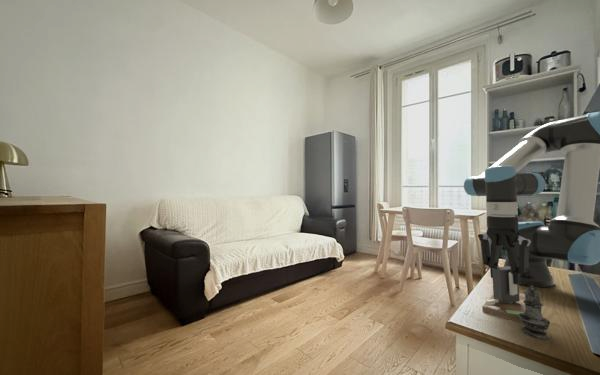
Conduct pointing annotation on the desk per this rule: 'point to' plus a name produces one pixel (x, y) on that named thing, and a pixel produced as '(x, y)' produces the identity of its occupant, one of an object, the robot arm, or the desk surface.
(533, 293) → the dark grey chess piece
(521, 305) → the board
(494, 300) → the grey block
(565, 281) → the desk surface
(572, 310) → the desk surface
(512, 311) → the dial marks
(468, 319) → the desk surface
